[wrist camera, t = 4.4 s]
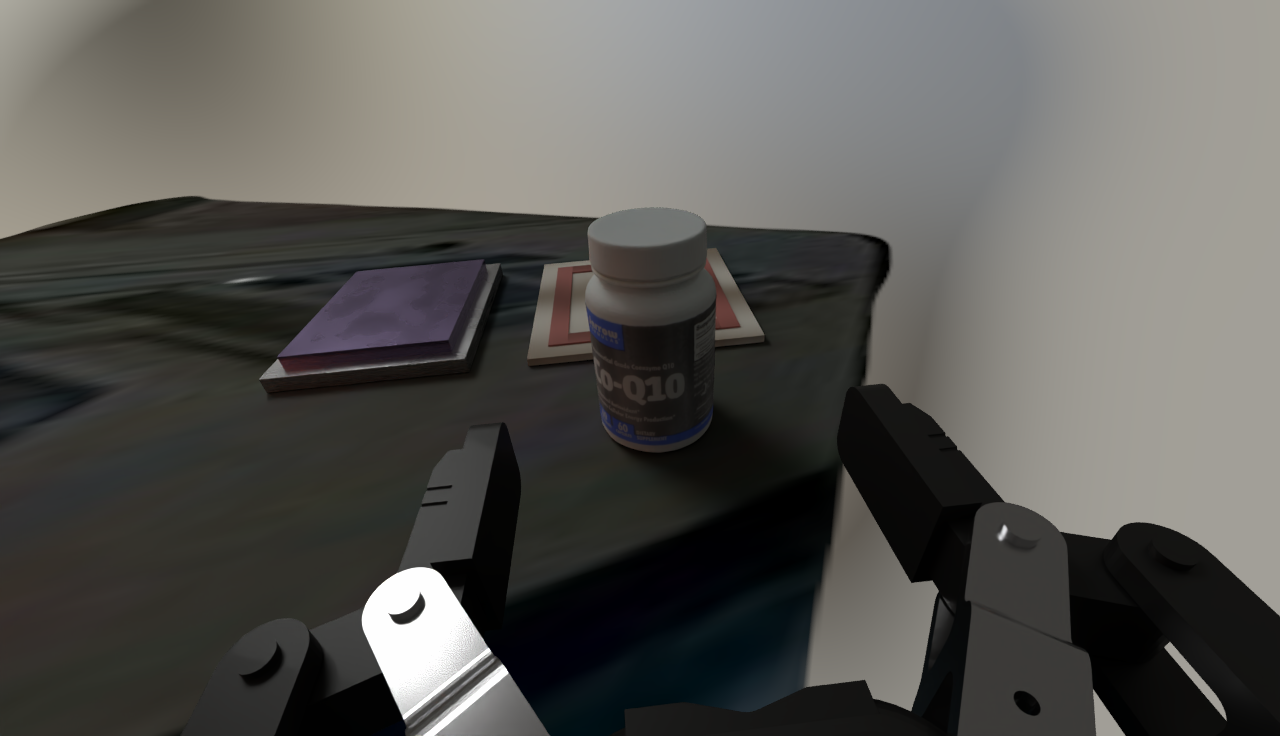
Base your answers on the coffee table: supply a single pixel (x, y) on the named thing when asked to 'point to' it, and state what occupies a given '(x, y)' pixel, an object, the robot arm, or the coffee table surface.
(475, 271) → the ink pad
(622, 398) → the pill bottle
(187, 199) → the coffee table surface
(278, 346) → the coffee table surface
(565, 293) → the marked board
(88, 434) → the coffee table surface
